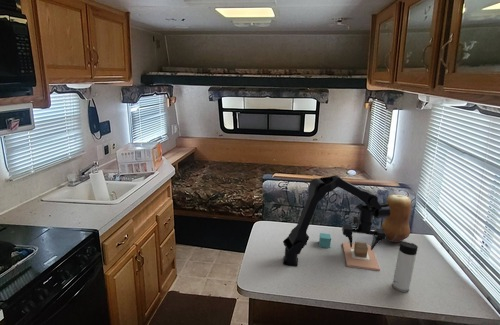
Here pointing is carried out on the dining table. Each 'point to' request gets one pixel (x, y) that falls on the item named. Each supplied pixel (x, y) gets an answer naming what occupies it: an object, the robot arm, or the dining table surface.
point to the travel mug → (404, 266)
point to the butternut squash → (397, 218)
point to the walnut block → (360, 249)
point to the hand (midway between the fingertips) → (361, 248)
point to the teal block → (324, 240)
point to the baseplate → (360, 258)
